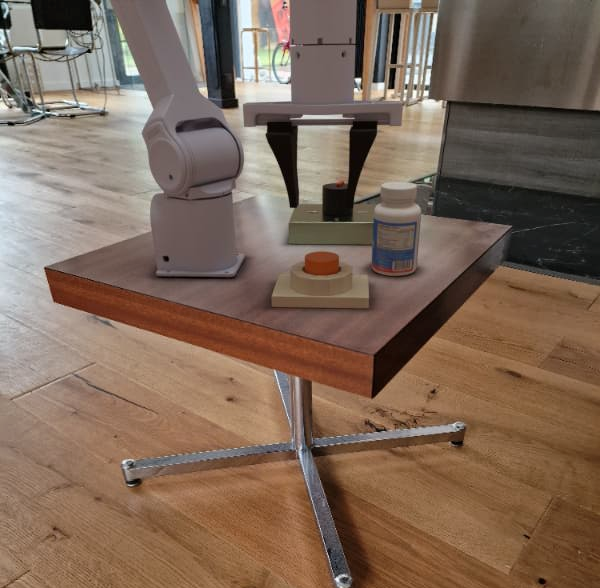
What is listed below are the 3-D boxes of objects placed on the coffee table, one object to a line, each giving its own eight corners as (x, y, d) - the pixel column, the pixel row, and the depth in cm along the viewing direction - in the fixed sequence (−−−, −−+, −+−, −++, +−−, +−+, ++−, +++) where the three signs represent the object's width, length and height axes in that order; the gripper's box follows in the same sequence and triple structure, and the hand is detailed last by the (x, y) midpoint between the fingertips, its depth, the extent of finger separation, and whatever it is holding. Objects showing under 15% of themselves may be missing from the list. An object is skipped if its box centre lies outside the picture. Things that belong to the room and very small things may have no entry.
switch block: (271, 307, 59) (270, 279, 57) (279, 283, 65) (278, 258, 63) (368, 308, 58) (370, 280, 57) (367, 285, 64) (368, 258, 63)
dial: (348, 216, 79) (349, 187, 77) (318, 214, 80) (318, 185, 78) (356, 209, 82) (357, 181, 80) (327, 207, 84) (327, 179, 82)
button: (303, 277, 59) (303, 261, 58) (306, 266, 62) (305, 251, 61) (338, 278, 59) (338, 261, 58) (339, 267, 62) (339, 251, 61)
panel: (289, 244, 79) (288, 220, 77) (296, 223, 88) (295, 202, 86) (383, 244, 78) (385, 221, 76) (380, 224, 87) (381, 203, 85)
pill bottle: (382, 260, 72) (387, 178, 67) (422, 266, 69) (431, 182, 64) (363, 272, 68) (367, 187, 63) (405, 280, 65) (413, 191, 60)
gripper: (404, 44, 52) (394, 198, 59) (249, 47, 54) (257, 196, 61) (408, 43, 46) (396, 214, 53) (233, 47, 48) (244, 212, 55)
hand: (322, 206), depth 57 cm, fingers open, 5 cm apart
